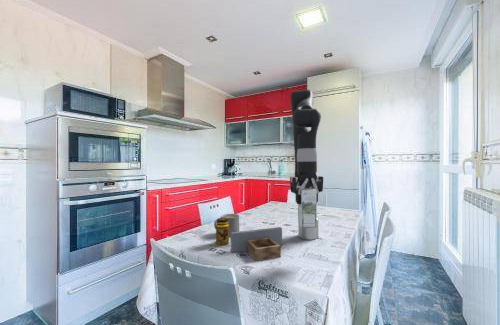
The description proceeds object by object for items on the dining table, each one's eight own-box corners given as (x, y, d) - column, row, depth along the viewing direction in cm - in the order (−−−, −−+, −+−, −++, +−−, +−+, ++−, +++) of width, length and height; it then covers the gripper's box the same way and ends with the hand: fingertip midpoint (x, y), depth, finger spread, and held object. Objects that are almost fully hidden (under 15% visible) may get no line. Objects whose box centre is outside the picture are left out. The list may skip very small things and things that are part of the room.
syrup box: (312, 223, 90) (311, 187, 90) (317, 228, 84) (316, 189, 84) (298, 224, 90) (297, 187, 90) (302, 228, 84) (301, 189, 84)
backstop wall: (280, 244, 106) (280, 227, 106) (282, 245, 104) (282, 228, 104) (230, 250, 98) (230, 232, 98) (232, 252, 96) (232, 233, 96)
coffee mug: (241, 232, 125) (241, 214, 125) (236, 237, 115) (236, 218, 115) (218, 230, 128) (218, 213, 128) (211, 236, 118) (211, 217, 118)
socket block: (269, 247, 102) (269, 237, 102) (280, 256, 92) (280, 245, 92) (246, 250, 98) (246, 240, 98) (255, 260, 88) (255, 249, 88)
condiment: (223, 247, 102) (223, 221, 102) (209, 244, 106) (209, 219, 106) (232, 242, 108) (232, 217, 108) (218, 239, 112) (218, 215, 112)
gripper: (295, 160, 81) (296, 206, 81) (328, 160, 86) (328, 203, 86) (285, 160, 88) (285, 203, 88) (316, 160, 93) (316, 200, 93)
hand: (307, 203), depth 87 cm, fingers closed on syrup box, 6 cm apart
